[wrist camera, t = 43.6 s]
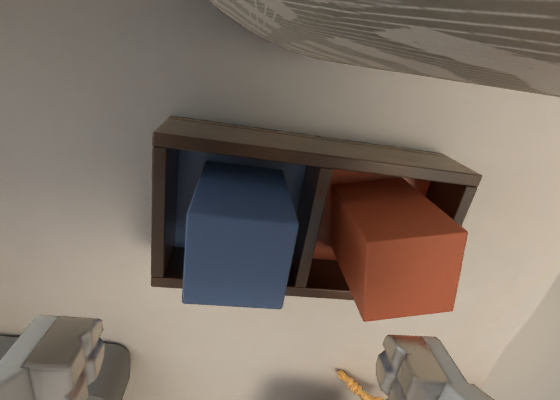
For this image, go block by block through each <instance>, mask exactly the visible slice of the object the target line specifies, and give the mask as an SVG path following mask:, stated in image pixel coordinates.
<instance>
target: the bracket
mask: <svg viewBox="0 0 560 400" xmlns="http://www.w3.org/2000/svg"><path fill="white" fill-rule="evenodd" d="M18 338H19V337H6V336H0V360H1V359H2V358H3V357H4V355H5V354H6V353H7V352H8V350H9V349H10V348H11V347H12V345H13V344H14V343H15V342H16V340H17V339H18ZM104 346H105V351H104V359H103V362H102V366H101V369H100V372H99V374H98V376H97V378H96V380H95V381H93V382H92V383H91V384H89V385H88V398H87V400H122V398H123V395H124V392H125V389H126V386H127V384H128V381H129V378H130V354H129V352H128V351H127V350H126V349H125V348H123V347H122V346H119V345H116V344H105V343H104Z"/></svg>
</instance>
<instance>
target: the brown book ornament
mask: <svg viewBox="0 0 560 400" xmlns="http://www.w3.org/2000/svg"><path fill="white" fill-rule="evenodd" d="M338 377H339V379H340V380H344V382H345V383H346V386H347V387H350V390H351V391H354V394H355V395H357V394H358V395H359V396H360V397H361V399H362V400H384V399H382V398H380V397H375V398H374V397H373V396H372V395H371V396H370V395H369V394H368V393H366V392H364V391H363V390H362V386H360V385H359V386H358V383H357V382H354V379H353V378H350V377H348V376H347V375H346V374H345V373H344V372H343V371H342V370H339V371H338Z"/></svg>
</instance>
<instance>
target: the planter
mask: <svg viewBox="0 0 560 400" xmlns="http://www.w3.org/2000/svg"><path fill="white" fill-rule="evenodd" d="M209 1H210V2H211V3H213V4H214V5H215V6H216V7H217V8H218V9H220V10H221V11H222V12H223V13H224V14H226V15H227V16H229V17H230V18H232V19H233V20H234V21H236V22H237V23H239V24H240V25H242V26H243V27H244V28H246V29H248V30H249V31H251V32H253V33H255V34H256V35H258V36H260V37H262V38H264V39H265V40H267V41H269V42H271V43H274V44H276V45H278V46H281V47H283V48H285V49H288V50H290V51H293V52H296V53H299V54H303V55H306V56H309V57H312V58H316V59H322V60H327V61H332V62H337V63H343V64H350V65H356V66H363V67H369V68H376V69H382V70H388V71H395V72H401V73H408V74H414V75H421V76H427V77H434V78H440V79H447V80H453V81H459V82H466V83H472V84H479V85H485V86H492V87H498V88H505V89H511V90H518V91H524V92H530V93H537V94H543V95H550V96H556V97H560V0H209Z"/></svg>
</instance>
